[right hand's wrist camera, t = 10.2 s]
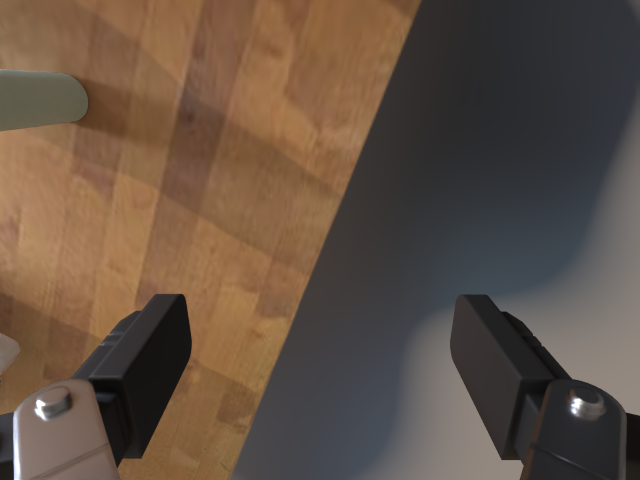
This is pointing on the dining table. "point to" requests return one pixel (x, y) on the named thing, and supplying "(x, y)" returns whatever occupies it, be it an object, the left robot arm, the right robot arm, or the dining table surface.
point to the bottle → (39, 99)
